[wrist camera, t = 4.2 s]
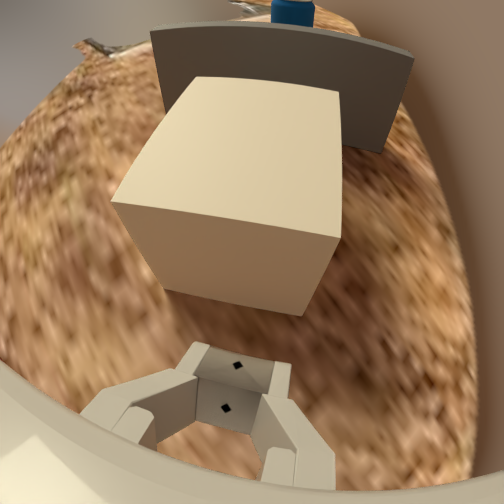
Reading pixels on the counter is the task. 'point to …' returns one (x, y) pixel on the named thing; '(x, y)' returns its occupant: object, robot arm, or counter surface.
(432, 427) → the counter surface
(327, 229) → the block
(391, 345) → the counter surface
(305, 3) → the beverage can
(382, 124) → the grey stand
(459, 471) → the counter surface
